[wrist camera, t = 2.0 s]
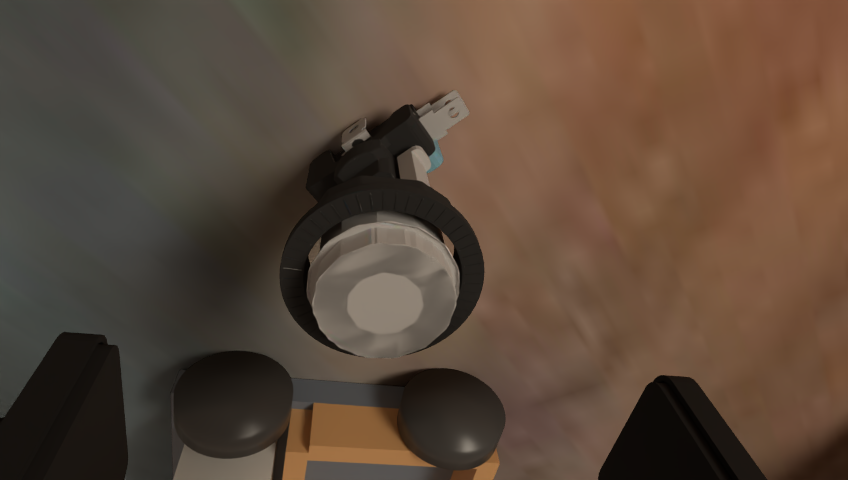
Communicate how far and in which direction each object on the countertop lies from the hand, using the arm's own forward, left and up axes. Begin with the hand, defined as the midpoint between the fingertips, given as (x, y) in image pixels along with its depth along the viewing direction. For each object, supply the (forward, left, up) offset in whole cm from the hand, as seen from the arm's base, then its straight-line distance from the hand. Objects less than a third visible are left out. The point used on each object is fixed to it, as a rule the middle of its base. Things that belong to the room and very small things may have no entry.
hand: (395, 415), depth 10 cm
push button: (-1, 0, -14) cm, 14 cm away
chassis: (-1, +19, -14) cm, 24 cm away
